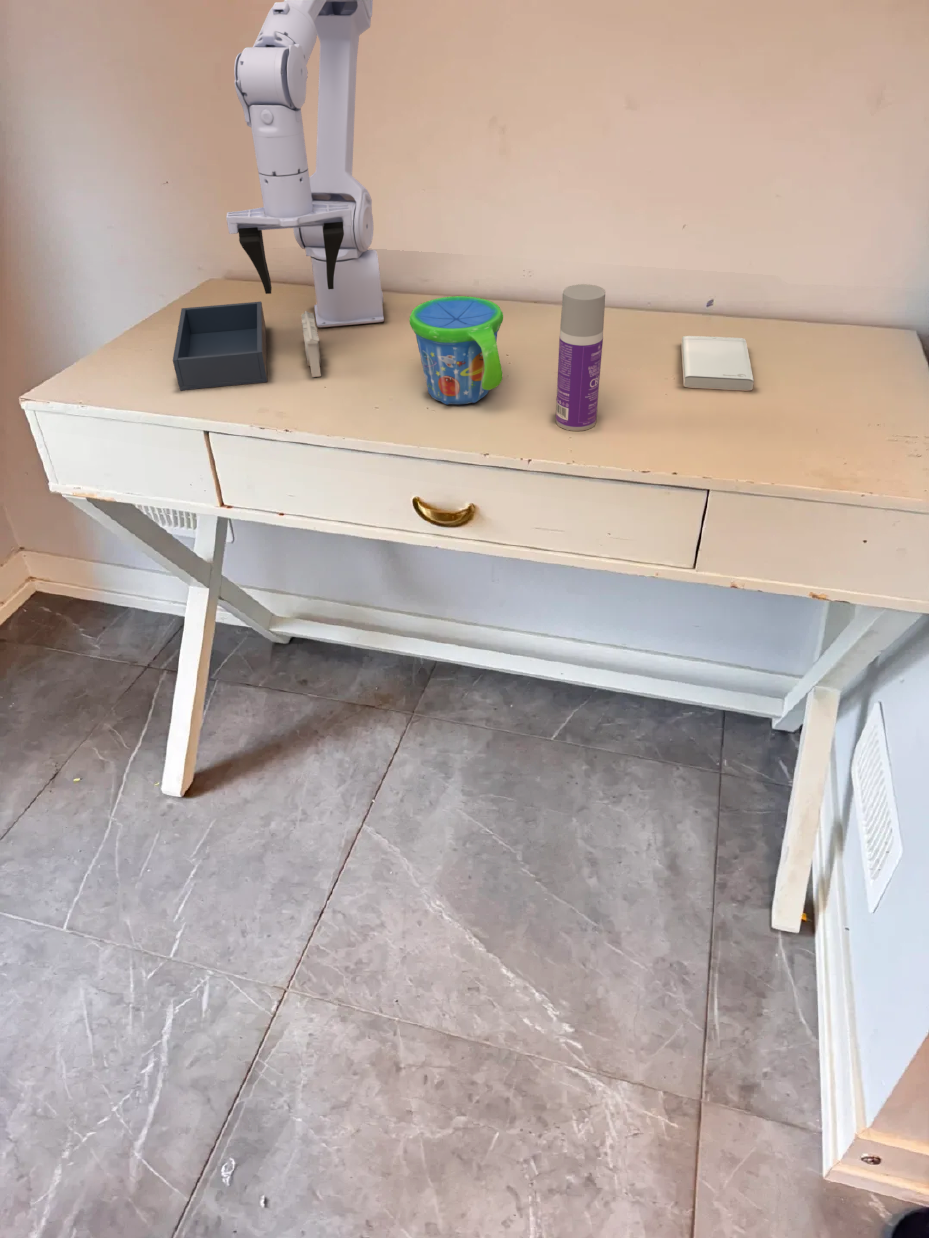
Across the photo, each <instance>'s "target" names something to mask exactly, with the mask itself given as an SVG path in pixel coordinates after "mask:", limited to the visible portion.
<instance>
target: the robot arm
mask: <svg viewBox="0 0 929 1238" xmlns="http://www.w3.org/2000/svg"><path fill="white" fill-rule="evenodd" d="M373 5H374V0H283V1H280V2H279V1H277V2H274V4H273V5H272V7H271V8H270V9H269V11H268V13H267V15H266V17H265V19H264V22H263V24H262V26H261V29H260V31H259V33H258V35H257V37H256V39H255V41H254V42H253V46H247V47H244V48H243V50H242V52H239V53H237V55H236V57H235V60H234V66H233V67H234V69H233V73H234V88H235V92H236V96H237V98H238V100H239V103H240V105H241V108H242V110H243V116H244V122H245V123H246V126H247V127H249V128H250V129H251V135H252V141H253V142H252V143H253V147H254V148H253V149H254V155H255V161H256V168H257V173H258V179H259V180H258V181H259V184H260V185H259V187H260V192H261V199H262V207H256V208H252V209H243V210H237V211H227V212H226V216H225V218H226V219H225V220H226V224H227V230H228V234H230V235H233V234H238V241H239V244H240V246H241V247H242V249H243V250H244V252H245V253H246V255H247V256H248V258H249V259H250V261H251V263H252V264H253V266H254V268H255V270H256V272H257V274H258V276H259V279H260V281H261V283H262V286H263V290H264V293H265V295H271V294H272V289H273V288H272V283H271V282H272V281H271V275H270V271H269V268H268V263H267V258H266V252H265V244H264V236H263V231H268V230H283V229H293V236H294V238H295V241H296V243H297V244H298V245H299V247H300V248H301V249H302V250H305V256H306V257H310V262H311V270H312V278H313V284H314V285H313V286H314V292H315V300H316V304H314V305H313V309H314V317H315V324H316V328H329V327H343V326H352V325H363V324H365V325H366V324H374V323H376V324H377V323H383V322H384V321H385V318H384V317H385V316H384V307H383V304H384V294H383V289H382V283H381V272H380V263H379V256H378V252H377V250H376V249H370V247H371V245H372V242H373V237H374V217H373V216H374V215H373V200H372V197H371V194H370V192H369V190H368V189H367V188H366V187H365V186H364V185H363V184H362V183H361V182H360V181H359V180H357V179H356V177H354V176H353V167H354V166H353V165H354V164H353V162H354V138H355V116H356V114H355V113H356V87H357V63H358V53H359V51H358V50H359V42H360V36H361V35H362V34H364V33H365V32H366V31H367V30H369V29H370V28H371V26H372V24H371V23H372V16H373ZM317 38H318V41H319V61H318V63H319V64H318V88H317V89H318V90H317V91H318V92H317V93H318V94H317V120H316V121H317V123H316V151H315V152H316V153H315V155H316V156H315V171H314V173H312V175H310V173H309V165H308V158H307V157H308V156H307V147H306V141H305V133H304V124H303V114H302V107H303V106H304V104H305V103H306V96H307V80H308V74H309V71H308V67H307V65H308V62H309V60H310V57H311V55H312V53H313V50H314V47H315V45H316V43H317Z"/></svg>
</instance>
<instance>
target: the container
mask: <svg viewBox="0 0 929 1238" xmlns="http://www.w3.org/2000/svg"><path fill="white" fill-rule="evenodd" d="M561 299H562V300H561V313H560V314H561V315H560V326H559V336H558V337H559V338H558V339H559V341H558V357H557V358H558V359H557V377H556V378H557V379H556V380H557V381H556V382H557V383H556V399H555V400H556V401H555V402H556V403H555V424H556V425H557V427H559V428H561V429H564V430H567V431H571V432H582V431H587V430H590V429H592V428H593V427H595V425H596V424H597V417H598V416H597V414H598V402H599V392H600V390H599V389H600V380H601V368H602V366H601V365H602V356H603V355H602V354H603V344H604V327H605V326H604V325H605V309H606V308H605V307H606V290H605V289H604V288H603V287H601V286H598V285H595V284H588V283H586V284H585V283H579V284H572V285H569V286H566V287H564V289H563V290H562V298H561Z"/></svg>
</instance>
